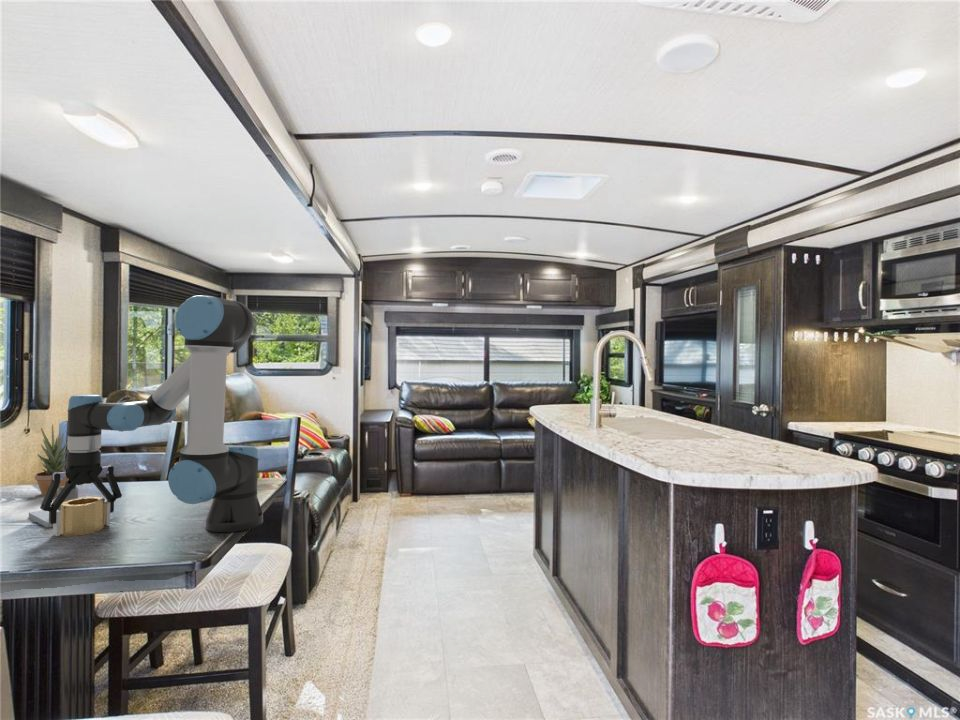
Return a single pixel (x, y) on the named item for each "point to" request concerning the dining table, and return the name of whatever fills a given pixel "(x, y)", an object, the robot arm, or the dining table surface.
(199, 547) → the dining table surface
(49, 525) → the block
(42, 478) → the potted plant
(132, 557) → the dining table surface
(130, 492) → the dining table surface
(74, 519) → the bronze sleeve
